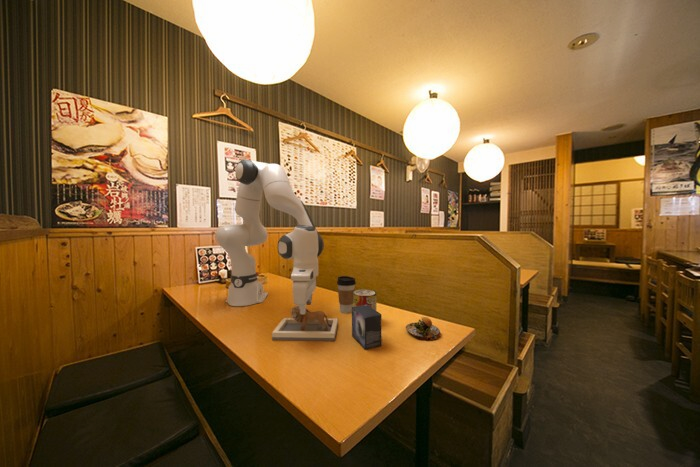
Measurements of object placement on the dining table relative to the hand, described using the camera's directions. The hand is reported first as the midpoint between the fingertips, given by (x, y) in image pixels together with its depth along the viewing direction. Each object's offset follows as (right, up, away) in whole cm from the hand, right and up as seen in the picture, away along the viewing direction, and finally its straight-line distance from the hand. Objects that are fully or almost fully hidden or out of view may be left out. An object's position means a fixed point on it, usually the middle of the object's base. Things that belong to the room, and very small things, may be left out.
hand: (306, 308), depth 88 cm
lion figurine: (+2, -8, -1) cm, 8 cm away
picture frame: (0, -8, 0) cm, 8 cm away
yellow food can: (+22, -8, +8) cm, 25 cm away
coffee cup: (+14, -8, +22) cm, 27 cm away
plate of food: (+42, -9, -1) cm, 43 cm away
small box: (+21, -9, -7) cm, 24 cm away
